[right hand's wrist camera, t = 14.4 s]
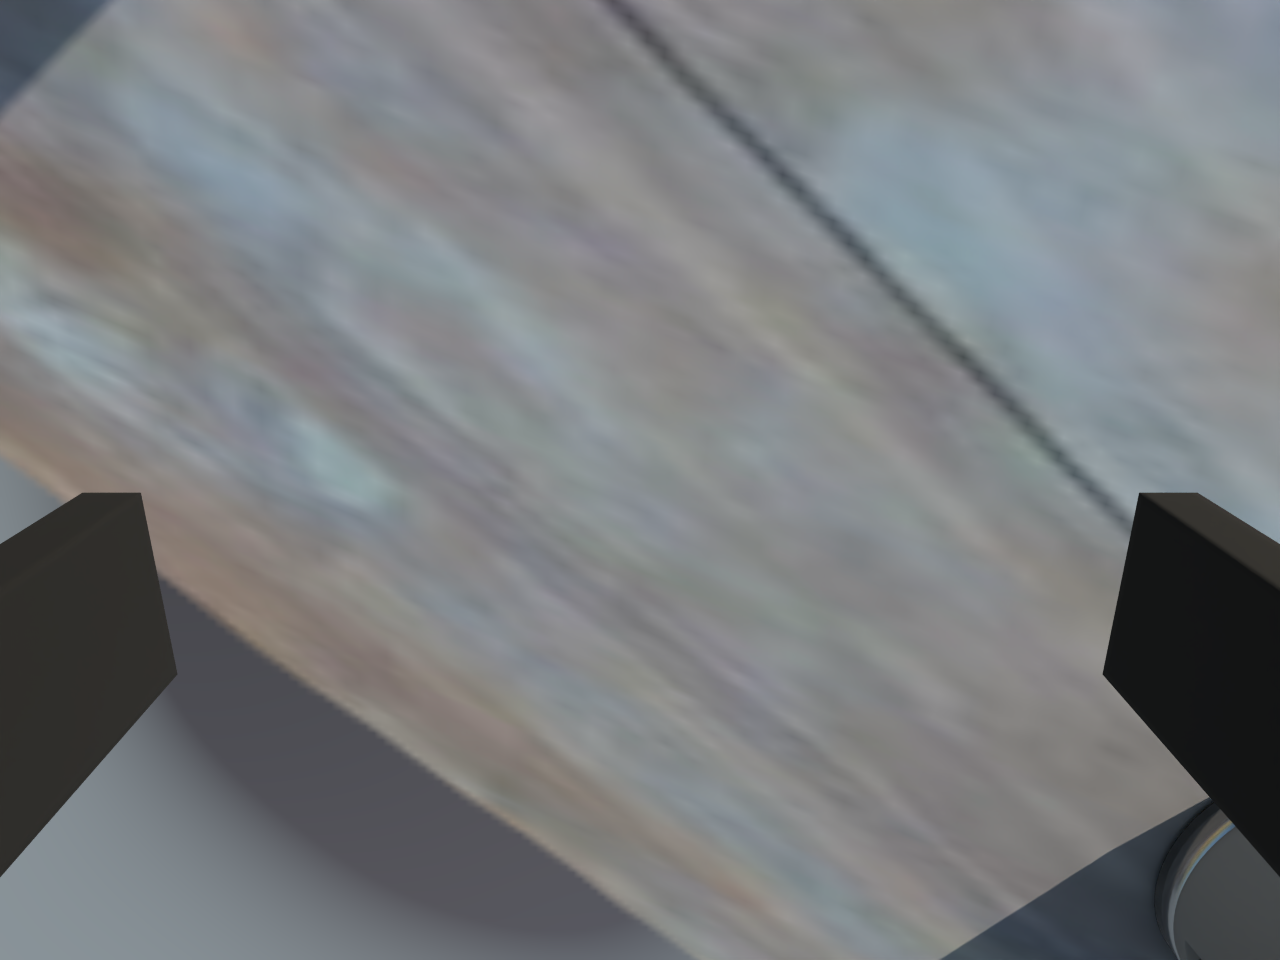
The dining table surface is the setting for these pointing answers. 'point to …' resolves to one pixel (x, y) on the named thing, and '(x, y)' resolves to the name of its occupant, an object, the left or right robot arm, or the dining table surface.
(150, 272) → the dining table surface
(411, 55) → the dining table surface
